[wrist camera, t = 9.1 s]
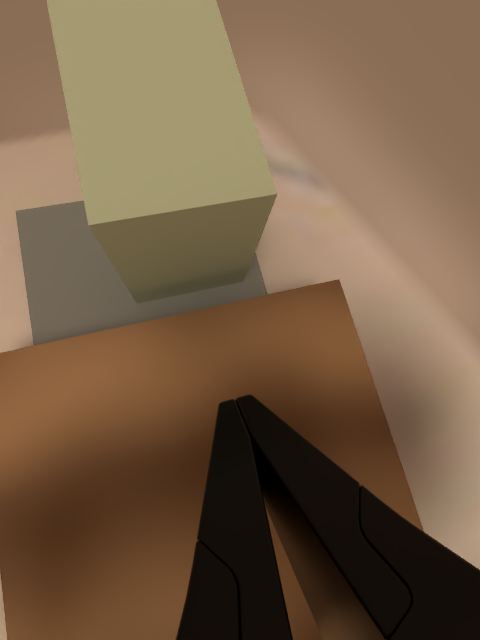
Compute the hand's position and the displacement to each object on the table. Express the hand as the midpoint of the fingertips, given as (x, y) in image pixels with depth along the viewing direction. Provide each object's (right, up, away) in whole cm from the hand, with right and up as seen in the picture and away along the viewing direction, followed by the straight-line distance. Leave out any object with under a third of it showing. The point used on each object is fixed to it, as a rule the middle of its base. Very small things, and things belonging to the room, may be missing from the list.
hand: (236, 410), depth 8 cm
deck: (-1, -4, +6) cm, 7 cm away
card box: (-2, +4, +4) cm, 6 cm away
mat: (-4, +5, +8) cm, 10 cm away
